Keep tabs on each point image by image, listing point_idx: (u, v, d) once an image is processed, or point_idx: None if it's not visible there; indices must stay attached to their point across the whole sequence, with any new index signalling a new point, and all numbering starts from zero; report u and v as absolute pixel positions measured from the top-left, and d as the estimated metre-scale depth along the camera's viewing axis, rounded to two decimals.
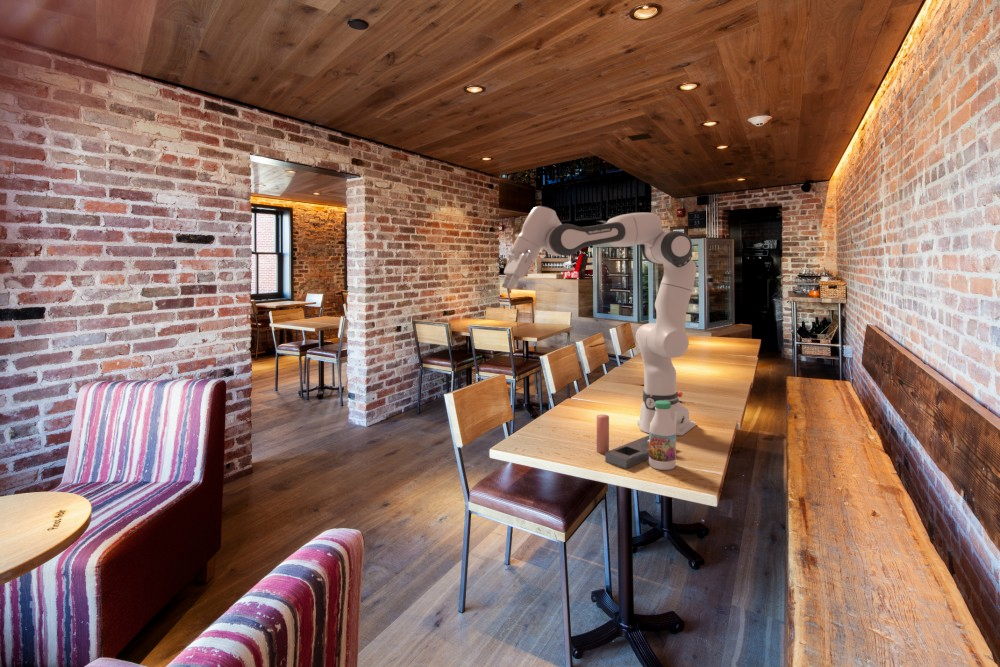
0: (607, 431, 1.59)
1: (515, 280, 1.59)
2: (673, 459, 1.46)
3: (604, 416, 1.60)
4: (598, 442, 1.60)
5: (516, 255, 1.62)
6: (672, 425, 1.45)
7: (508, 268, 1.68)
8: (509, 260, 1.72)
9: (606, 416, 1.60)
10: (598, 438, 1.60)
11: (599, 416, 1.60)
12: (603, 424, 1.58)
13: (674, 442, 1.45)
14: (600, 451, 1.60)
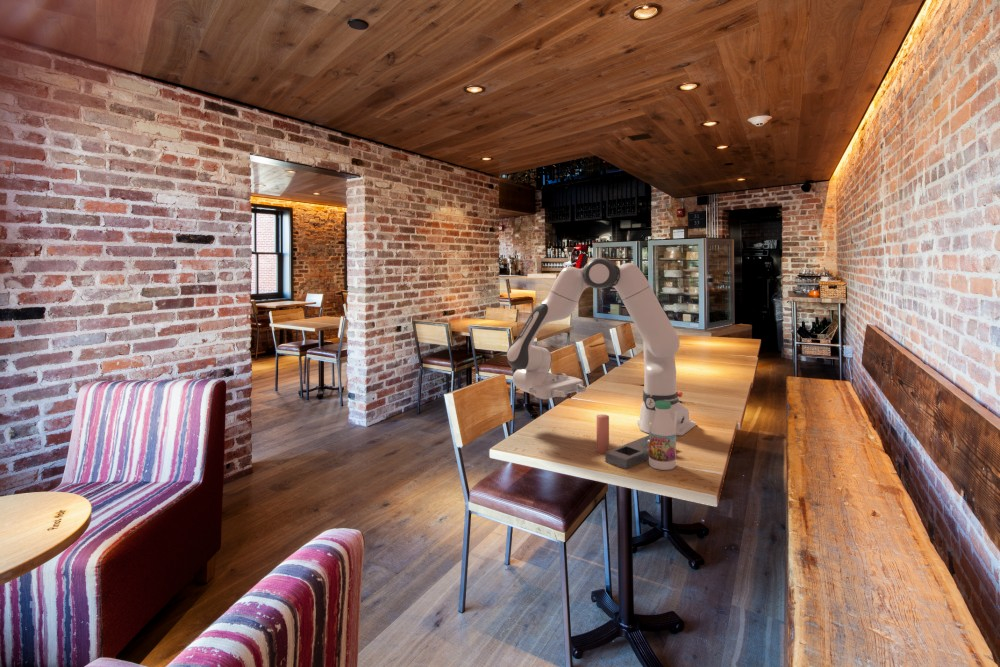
0: (607, 431, 1.59)
1: (555, 392, 1.67)
2: (673, 459, 1.46)
3: (604, 416, 1.60)
4: (598, 442, 1.60)
5: None
6: (672, 425, 1.45)
7: None
8: None
9: (606, 416, 1.60)
10: (598, 438, 1.60)
11: (599, 416, 1.60)
12: (603, 424, 1.58)
13: (674, 442, 1.45)
14: (600, 451, 1.60)
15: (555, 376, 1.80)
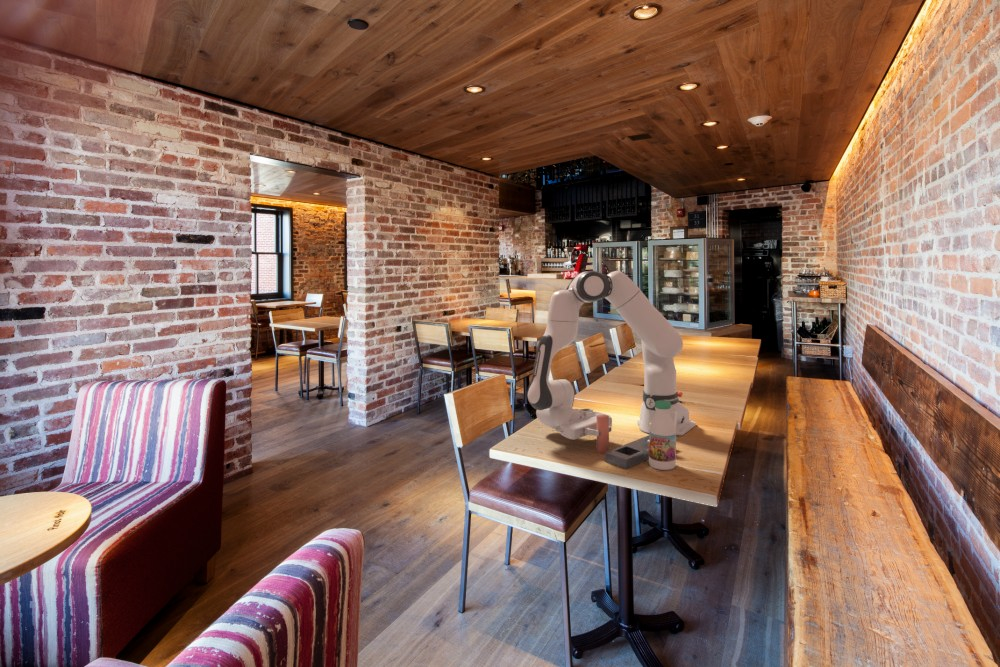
0: (607, 431, 1.59)
1: (588, 431, 1.60)
2: (673, 459, 1.46)
3: (604, 416, 1.60)
4: (598, 442, 1.60)
5: None
6: (672, 425, 1.45)
7: None
8: None
9: (606, 416, 1.60)
10: (598, 438, 1.60)
11: (599, 416, 1.60)
12: (603, 424, 1.58)
13: (674, 442, 1.45)
14: (600, 451, 1.60)
15: (582, 412, 1.71)
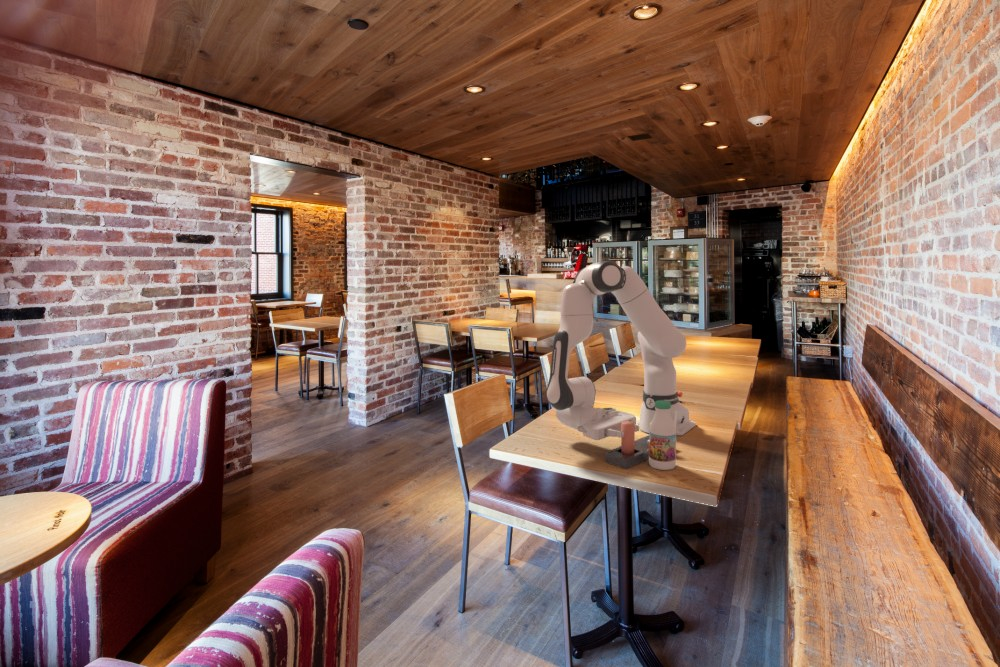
0: (633, 439, 1.51)
1: (610, 432, 1.51)
2: (673, 459, 1.46)
3: (629, 423, 1.52)
4: (623, 450, 1.52)
5: None
6: (672, 425, 1.45)
7: None
8: None
9: (632, 423, 1.52)
10: (623, 446, 1.52)
11: (624, 423, 1.52)
12: (629, 432, 1.51)
13: (674, 442, 1.45)
14: None
15: (605, 411, 1.63)
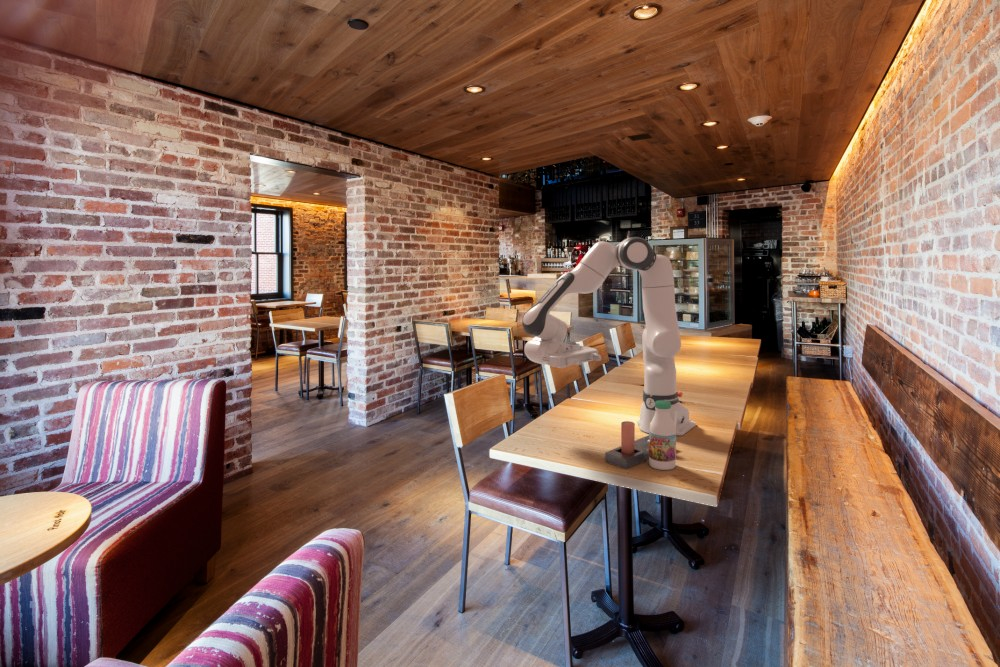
0: (633, 439, 1.51)
1: (569, 360, 1.60)
2: (673, 459, 1.46)
3: (629, 423, 1.52)
4: (623, 450, 1.52)
5: None
6: (672, 425, 1.45)
7: None
8: None
9: (632, 423, 1.52)
10: (623, 446, 1.52)
11: (624, 423, 1.52)
12: (629, 432, 1.51)
13: (674, 442, 1.45)
14: None
15: (569, 345, 1.72)
